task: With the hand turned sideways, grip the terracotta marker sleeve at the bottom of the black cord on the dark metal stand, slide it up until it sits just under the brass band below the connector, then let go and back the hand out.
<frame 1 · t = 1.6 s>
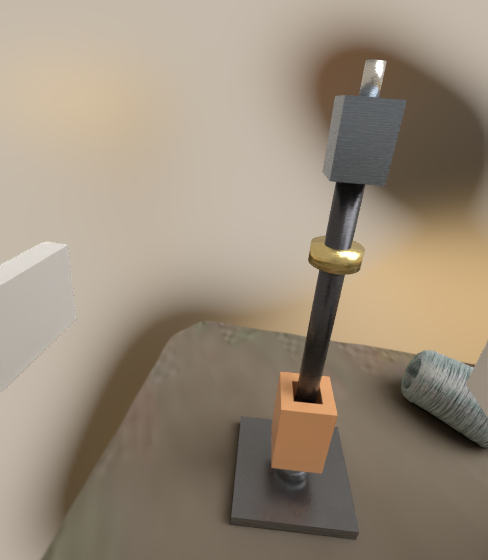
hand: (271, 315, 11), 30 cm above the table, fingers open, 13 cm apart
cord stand: (290, 473, 39), on the table
sleeve: (300, 421, 36), point 8 cm above the table, slide at 0.0 cm
spool: (446, 417, 49), on the table
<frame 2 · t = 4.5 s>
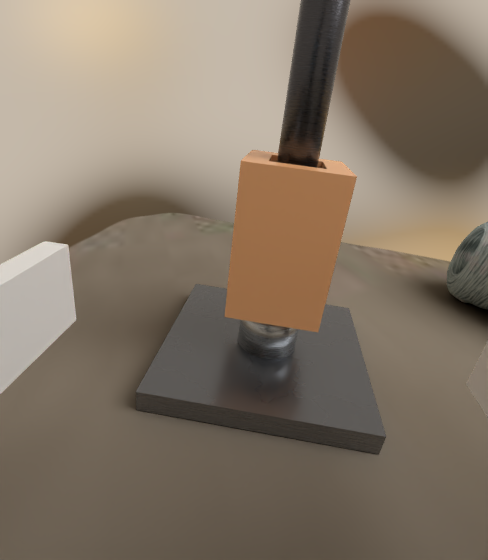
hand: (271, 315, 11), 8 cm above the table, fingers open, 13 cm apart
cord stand: (263, 355, 23), on the table
sleeve: (284, 238, 19), point 8 cm above the table, slide at 0.0 cm
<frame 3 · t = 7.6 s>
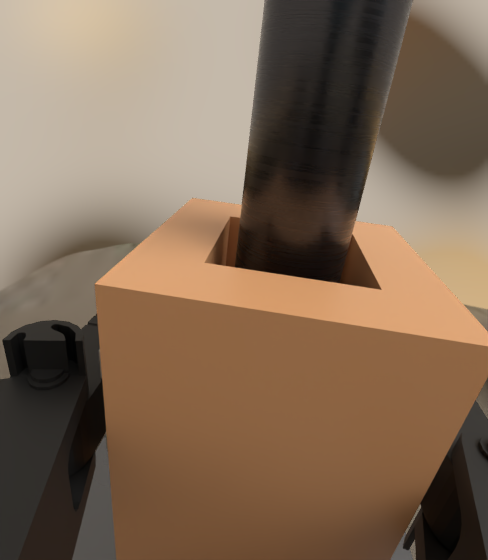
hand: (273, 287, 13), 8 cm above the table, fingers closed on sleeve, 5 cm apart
sleeve: (262, 405, 8), point 8 cm above the table, slide at 0.0 cm, touching gripper
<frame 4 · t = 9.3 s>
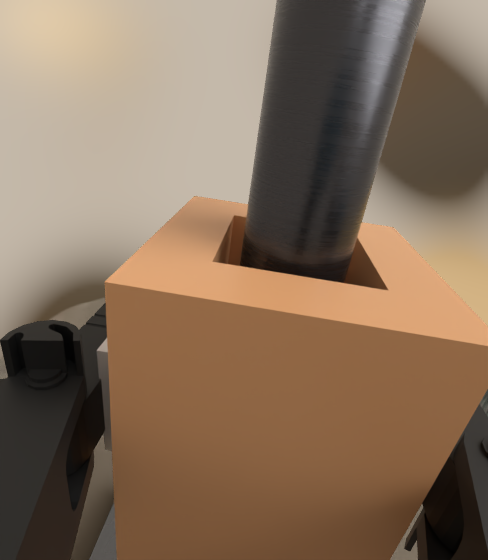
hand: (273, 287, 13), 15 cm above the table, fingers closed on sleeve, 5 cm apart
sleeve: (262, 404, 8), point 14 cm above the table, slide at 6.2 cm, touching gripper
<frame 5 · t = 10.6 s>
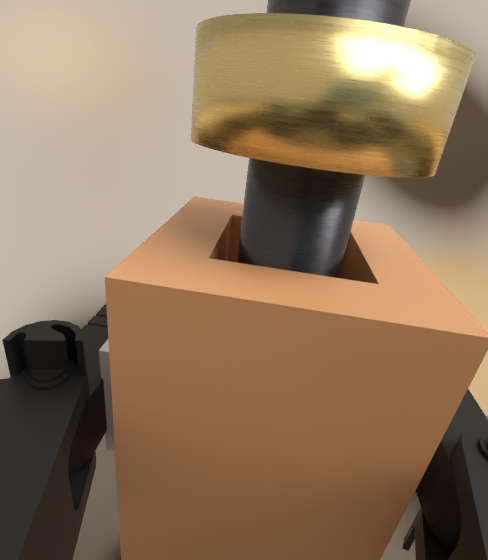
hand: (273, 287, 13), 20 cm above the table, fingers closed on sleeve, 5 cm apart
sleeve: (262, 399, 9), point 20 cm above the table, slide at 11.9 cm, touching gripper
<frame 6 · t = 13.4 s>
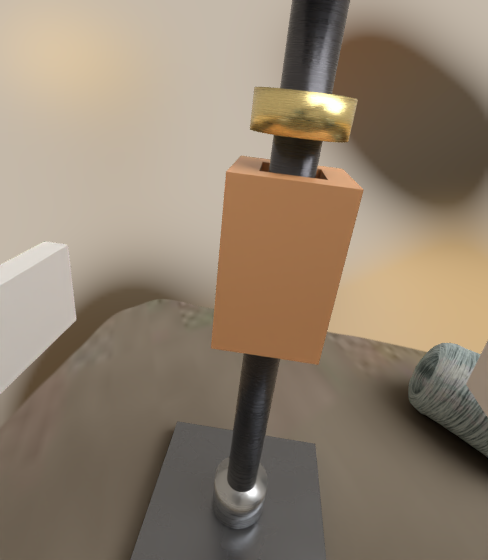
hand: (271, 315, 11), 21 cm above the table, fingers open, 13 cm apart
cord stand: (235, 511, 26), on the table
sleeve: (278, 256, 17), point 20 cm above the table, slide at 12.1 cm
spool: (470, 437, 35), on the table
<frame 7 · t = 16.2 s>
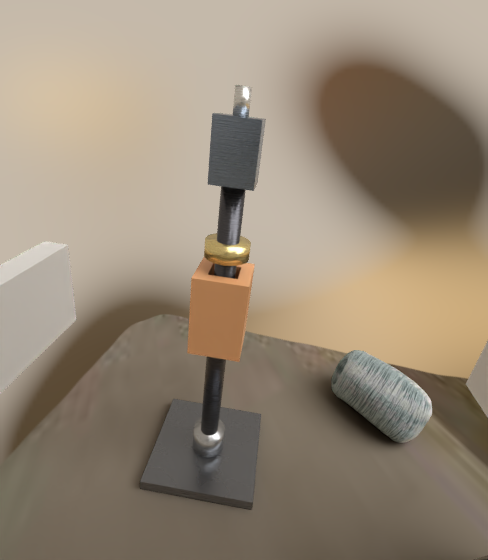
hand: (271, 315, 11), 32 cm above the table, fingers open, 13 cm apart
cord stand: (207, 450, 43), on the table
sleeve: (221, 308, 34), point 20 cm above the table, slide at 12.1 cm
spool: (370, 414, 52), on the table
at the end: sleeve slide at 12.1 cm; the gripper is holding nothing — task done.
